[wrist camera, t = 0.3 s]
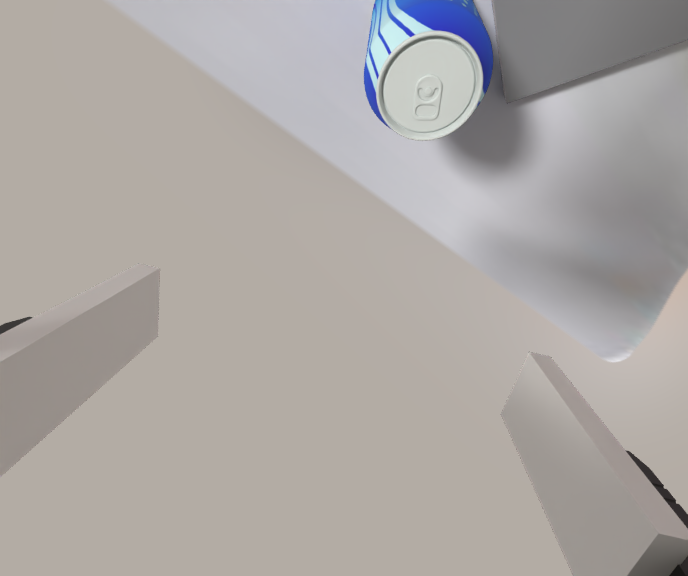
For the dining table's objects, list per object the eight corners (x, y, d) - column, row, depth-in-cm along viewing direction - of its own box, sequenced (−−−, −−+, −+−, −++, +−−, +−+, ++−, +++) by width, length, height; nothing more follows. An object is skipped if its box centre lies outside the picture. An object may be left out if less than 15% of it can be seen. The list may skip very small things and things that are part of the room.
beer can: (353, 24, 36) (335, 101, 25) (420, -74, 30) (431, -27, 20) (418, 85, 39) (426, 174, 29) (488, 6, 34) (528, 82, 23)
